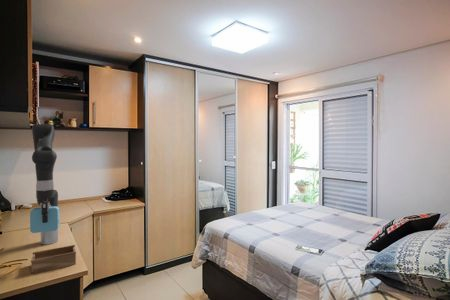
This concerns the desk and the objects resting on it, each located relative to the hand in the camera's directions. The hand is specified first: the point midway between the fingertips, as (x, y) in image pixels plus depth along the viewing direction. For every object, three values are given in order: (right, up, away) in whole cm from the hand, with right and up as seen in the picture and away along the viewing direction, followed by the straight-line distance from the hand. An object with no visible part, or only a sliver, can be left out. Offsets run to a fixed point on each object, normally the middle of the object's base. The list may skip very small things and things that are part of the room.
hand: (45, 221), depth 138 cm
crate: (+5, -22, -1) cm, 23 cm away
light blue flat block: (0, -5, 0) cm, 5 cm away
